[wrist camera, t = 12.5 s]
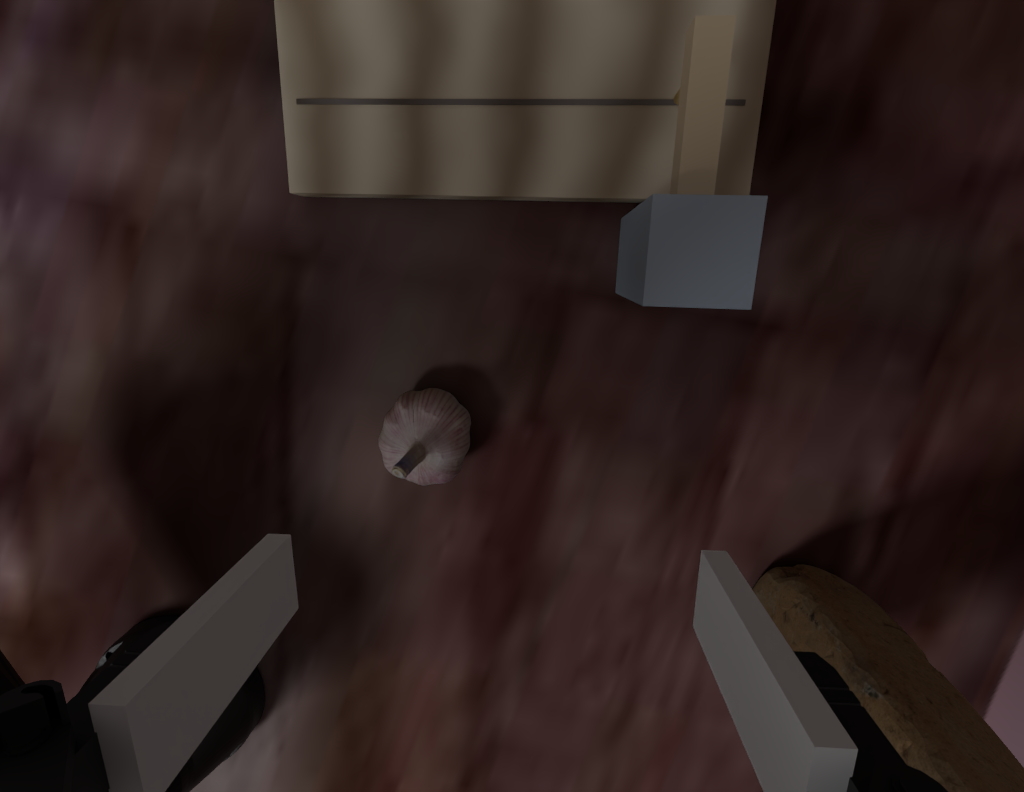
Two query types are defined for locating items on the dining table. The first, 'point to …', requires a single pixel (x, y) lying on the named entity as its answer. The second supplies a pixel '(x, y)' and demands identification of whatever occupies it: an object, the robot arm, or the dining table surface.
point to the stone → (889, 679)
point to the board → (505, 97)
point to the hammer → (695, 199)
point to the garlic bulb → (425, 437)
